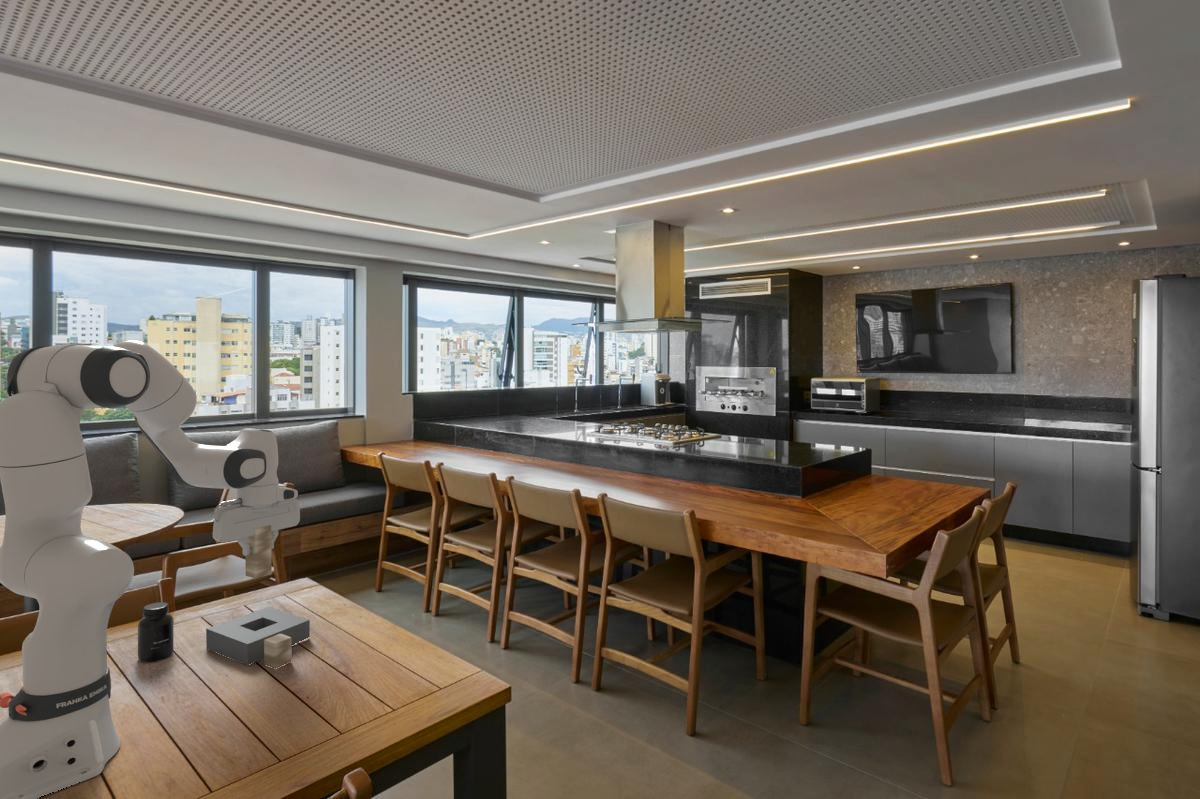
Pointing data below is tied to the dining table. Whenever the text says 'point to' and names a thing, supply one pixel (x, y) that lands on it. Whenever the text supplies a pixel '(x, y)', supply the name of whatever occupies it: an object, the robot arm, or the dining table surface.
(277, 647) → the short pin
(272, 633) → the socket block
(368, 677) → the dining table surface
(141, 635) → the supplement bottle
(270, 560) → the tall pin
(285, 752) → the dining table surface
